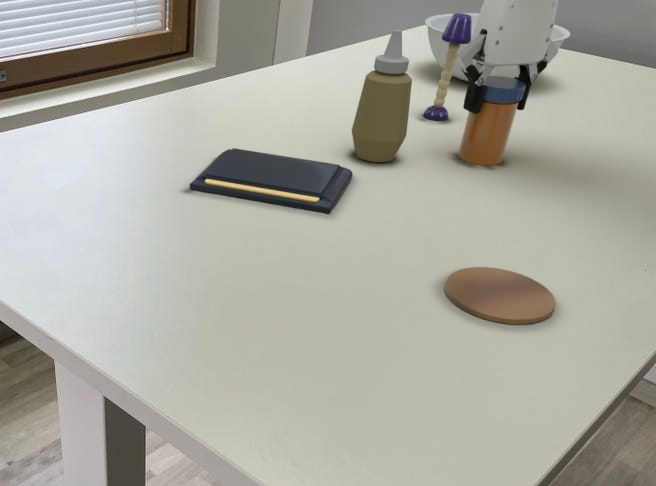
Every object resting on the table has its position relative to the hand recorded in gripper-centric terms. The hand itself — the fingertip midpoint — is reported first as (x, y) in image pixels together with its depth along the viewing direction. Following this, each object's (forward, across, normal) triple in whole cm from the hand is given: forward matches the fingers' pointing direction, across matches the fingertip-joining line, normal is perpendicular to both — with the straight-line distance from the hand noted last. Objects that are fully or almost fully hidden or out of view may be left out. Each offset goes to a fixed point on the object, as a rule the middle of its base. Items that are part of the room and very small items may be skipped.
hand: (493, 108), depth 107 cm
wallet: (+8, +35, +1) cm, 36 cm away
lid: (-3, 0, 0) cm, 3 cm away
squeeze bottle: (+8, +16, -4) cm, 18 cm away
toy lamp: (+8, -5, -19) cm, 22 cm away
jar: (+8, 0, 0) cm, 8 cm away
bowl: (+8, -29, -40) cm, 50 cm away
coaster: (+8, +24, +37) cm, 44 cm away
